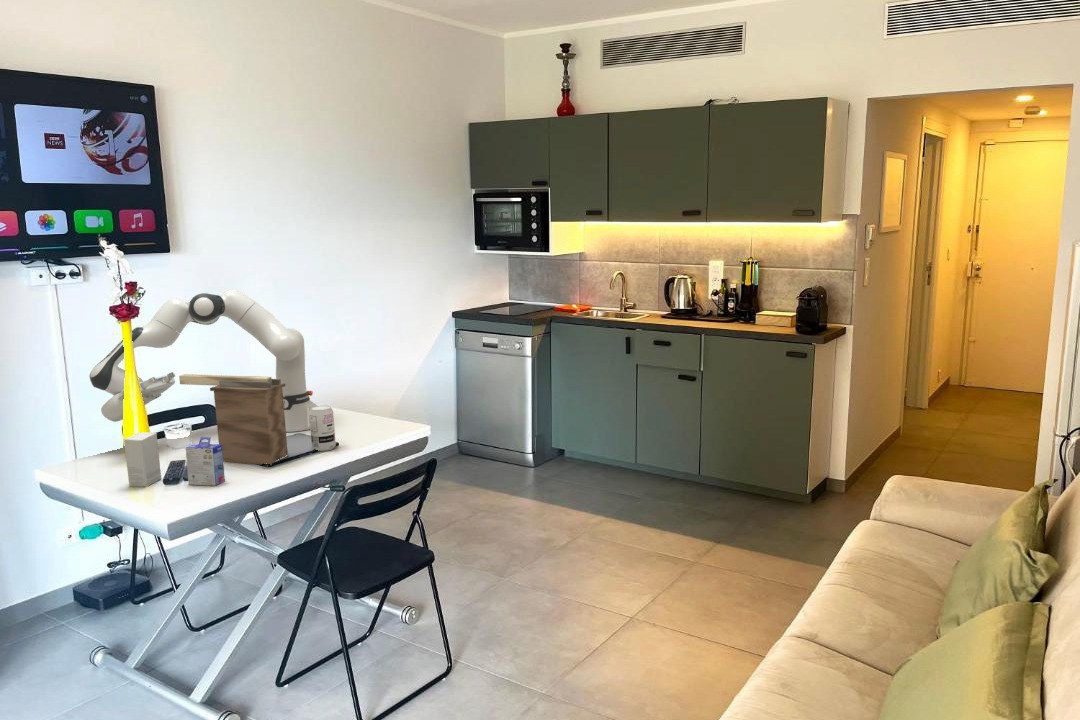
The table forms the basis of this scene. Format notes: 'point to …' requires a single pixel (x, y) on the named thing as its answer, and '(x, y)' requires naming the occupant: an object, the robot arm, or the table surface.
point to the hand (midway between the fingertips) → (163, 376)
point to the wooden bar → (217, 379)
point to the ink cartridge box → (205, 463)
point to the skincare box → (142, 459)
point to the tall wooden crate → (251, 421)
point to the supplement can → (322, 428)
